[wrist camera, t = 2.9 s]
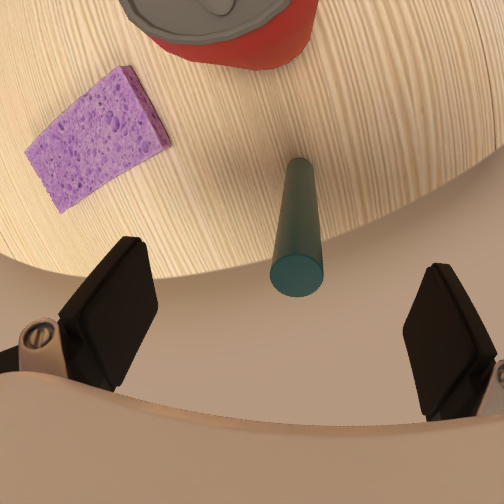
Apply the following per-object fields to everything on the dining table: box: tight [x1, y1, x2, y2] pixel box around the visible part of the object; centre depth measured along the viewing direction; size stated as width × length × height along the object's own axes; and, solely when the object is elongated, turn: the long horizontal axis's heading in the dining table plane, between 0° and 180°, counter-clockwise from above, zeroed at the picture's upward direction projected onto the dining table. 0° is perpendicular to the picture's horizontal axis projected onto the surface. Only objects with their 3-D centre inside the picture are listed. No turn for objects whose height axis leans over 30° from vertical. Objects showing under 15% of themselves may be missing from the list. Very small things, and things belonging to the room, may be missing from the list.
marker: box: [270, 158, 324, 297], centre depth 15 cm, size 2×2×12 cm
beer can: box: [119, 0, 318, 70], centre depth 10 cm, size 7×7×12 cm
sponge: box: [25, 66, 171, 214], centre depth 20 cm, size 7×13×2 cm, turn 115°
